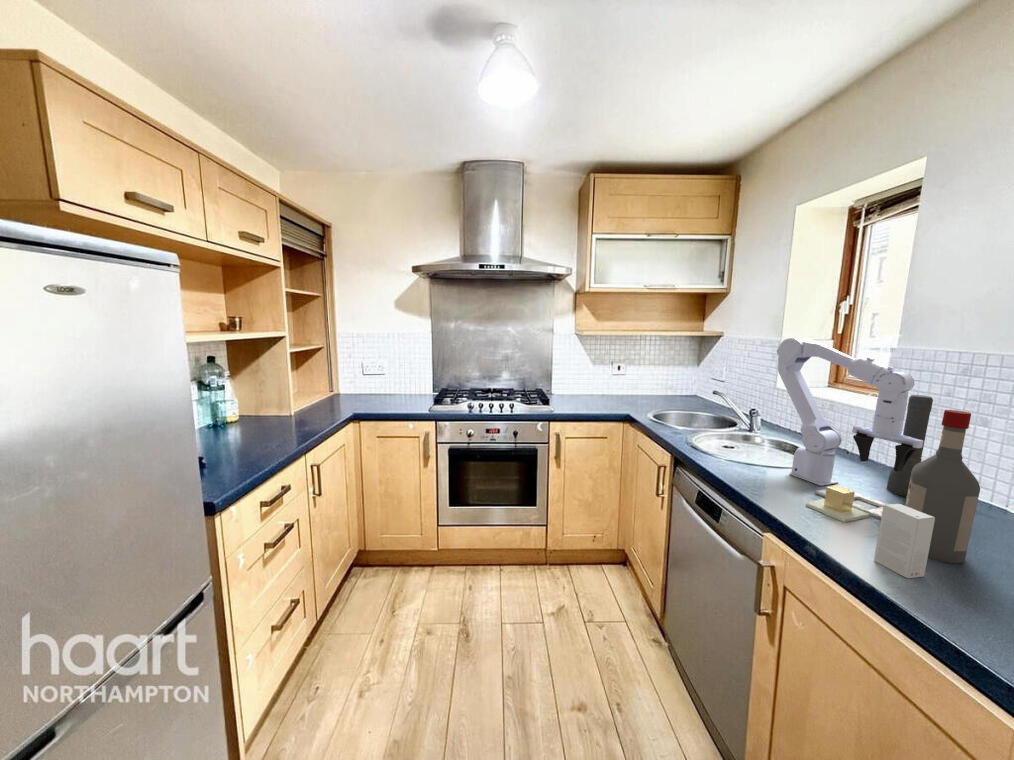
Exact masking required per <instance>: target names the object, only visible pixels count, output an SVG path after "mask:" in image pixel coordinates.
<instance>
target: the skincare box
mask: <svg viewBox="0 0 1014 760" xmlns="http://www.w3.org/2000/svg"><path fill="white" fill-rule="evenodd" d="M887 504H888V503H887ZM934 521H935V517H933V516H930V515H927V514H925V513H922V512H920V511H917V510H915V509H912V508H909V507H907V506H905V504H904V505H903V504H901V503H894V504H892V503H891V504H888V505H883V511H882V517H881V519H880V523H879V529H878V534H877V535H878V536H877V541H876V546H875V552H874V556H873V557H874V558H873V560H874V562H875V563H878V564H880V565H881V566H882V567H884V568H887V569H889V570H891V571H893V572H894V573H896V574H898V575H900V576H902V577H904V578H906V579H914V578H922V577H925V573H926V568H927V562H928V558H929V557H928V553H929V548H930V542H931V537H932V532H933V526H934Z"/></svg>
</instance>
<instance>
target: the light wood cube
mask: <svg viewBox="0 0 1014 760" xmlns="http://www.w3.org/2000/svg"><path fill="white" fill-rule="evenodd" d="M825 489H826V494H825V497H824V499H825V500H824V499H823V500H824V506H826V507H828V508H831V509H833V510H836V511H838V512H840V513H842V512H847V511H852V505H853V503H854V500H853V499H854V493H856V491H854V490H851V489H848V488H846V487H844V486H840V485H831V486H826V488H825Z"/></svg>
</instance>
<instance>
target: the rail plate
mask: <svg viewBox="0 0 1014 760" xmlns="http://www.w3.org/2000/svg"><path fill="white" fill-rule="evenodd" d="M825 494H826V488H824V489H819V490H818V489H817V490H815V495H818V496H820V497H823V498H825ZM858 500H859V501H861V502H864V503H868V504H870V505H872V506H876V508H872V509H871V508H868V507H866V506H863V505H861V504H858V503H855V502H853V505H852V508H855V509H857V510H860V511H863V512H865V513H868V514H869V516H871V517H873V518H876V519H878V520H881V517H882V511H883V505H888V503H886V502H885V503H884V502H883V501H880V500H876V499H874V498H872V497H868V496H866V495H863V494H861V493H859V492H855V493H854V499H853V501H858Z"/></svg>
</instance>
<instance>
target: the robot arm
mask: <svg viewBox="0 0 1014 760" xmlns="http://www.w3.org/2000/svg"><path fill="white" fill-rule="evenodd" d="M776 354H777V357H778V361H777V371H778V375H779V376H780V379H781V380H782V383H783V385H784V387H785V389H786V391H787V394H788V395H789V397H790V399H791V401H792V404H793V406H794V407H795V410H796V412H797V414H798V417H799V418H800V420H801V422H802V424H801V427H800V433H801V435H802V445H803V446H799V447H798V448H796V450H795V452H794V454H793V458H792V459H793V460H792V468H791V471H790V472H789V475H791V476H794V477H796V478H798V479H799V478H800V479H801V480H804V481H807V482H810V483H813V484H815V485H818V486H821V487H824V486H827V485H832V484H833V485H834V484H838V483H839V480H837V479H833V474H834V473H833V472H834V465H835V459H836V453H837V452H836V449H837V448H839V447H840V445H841V444H842V441H843V439H842V436H841V434H840V432H838V431H837V430H836V429H835V428H834V427H833V426H832V424H831V423H830V422H829V421H828V420H826V419H825V418H824V416H823V414H822V412H821V410H820V409H819V406H818V405H817V403H816V401H815V398H814V397H813V394H812V392H811V390H810V388H809V386H808V384H807V382H806V381H805V378H804V376H803V374H802V372H801V370H802V368H803V366H804V365H805V363H806V362H807V361H809V360H810V359H811V358H813V357H815V358H817V357H818V358H820V359H823V360H825V361H827V362H830V363H833V364H835V365H838V366H840V367H843V368H844V369H846V370H847V372H848V375H849V376H851V377H854V378H856V379H858V380H861V381H863V382H864V383H867V384H869V385H871V386H872V387H876V389H877V391H878V393H877V395H878V396H877V399H876V403H875V404H876V405H875V409H874V410H875V411H874V415H873V423H872V427H866V426H860V425H853V426H852V431H851V433H852V434H855V435H853V437H852V438H853V440H854V441H855V445H856V446H857V449H858V454H859V461H860V462H868V460H869V459H870V454H871V453H870V452H871V447H872V444H873V442H874V440H875V439H878V440H879V439H880V440H884V441H887V442H893V443H896V445H895V446H894V447H895V459H894V460H895V461H894V465H893V467H894V471H896V472H899V471H902V469H903V467H904V465H905V464H906V462H907V461H908V459H909V458H910V457H911V456H912V455H913V454H914V453H915V452H916V451H917V450H918V449H919V448H922V446H923V440H919V439H915V438H912V437H909V436H905V435H903V433H902V432H903V428H904V423H905V418H906V412H907V411H906V410H907V407H908V399H909V397H908V396H909V391H911V390H912V389H913V388H914V386H915V380H914V378H913V376H912V375H911V374H909V373H907V371H904V370H894V369H895V367H893V366H890V365H888V366H886V365H884V364H882V363H879V362H877V361H875V358H874V357H871V356H870V357H869V356H868V357H865V356H864V357H863V356H861V357H858V358H855V357H852V356H850V355H848V354H846V353H844V352H843V351H842V352H841V351H839V350H838V349H835V348H834V347H831V346H829V345H827V344H825V343H823V342H821V341H817V340H813V339H811V338H806V337H805V338H793V337H789V338H786V339H784V340H782V341H781V343H780V344H779V345H778V348H777V349H776Z"/></svg>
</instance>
